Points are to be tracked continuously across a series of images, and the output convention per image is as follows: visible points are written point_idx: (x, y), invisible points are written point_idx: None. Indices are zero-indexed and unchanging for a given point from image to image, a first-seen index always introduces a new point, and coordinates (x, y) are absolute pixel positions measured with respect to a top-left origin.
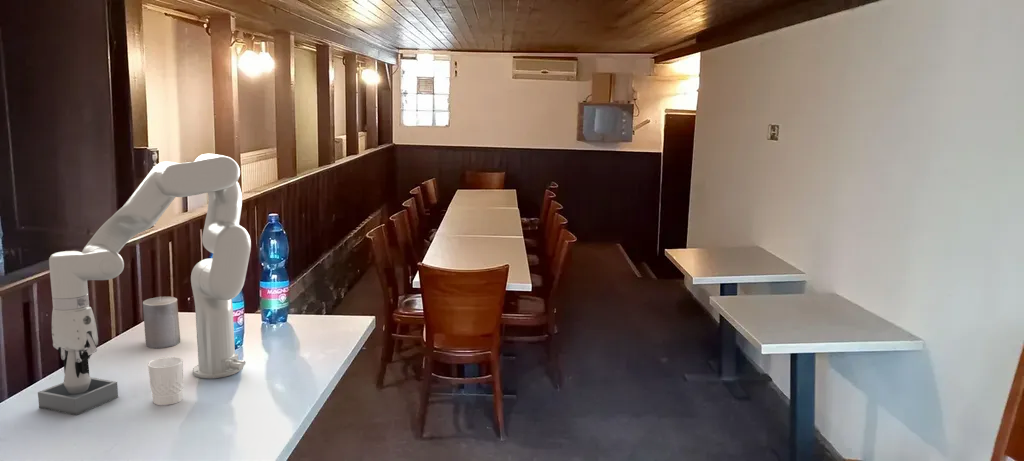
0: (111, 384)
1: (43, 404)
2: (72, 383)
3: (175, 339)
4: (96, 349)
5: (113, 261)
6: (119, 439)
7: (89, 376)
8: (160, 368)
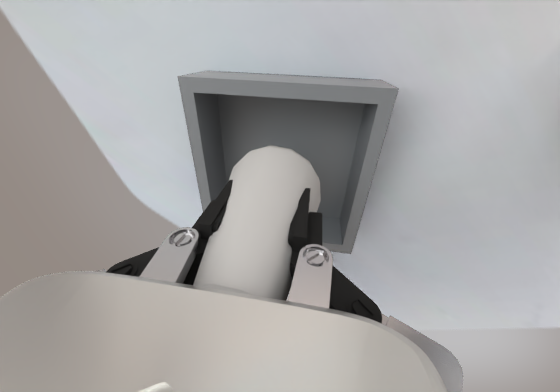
0: (388, 121)
1: None
2: None
3: None
4: (460, 375)
5: None
6: (539, 293)
7: (309, 177)
8: None
